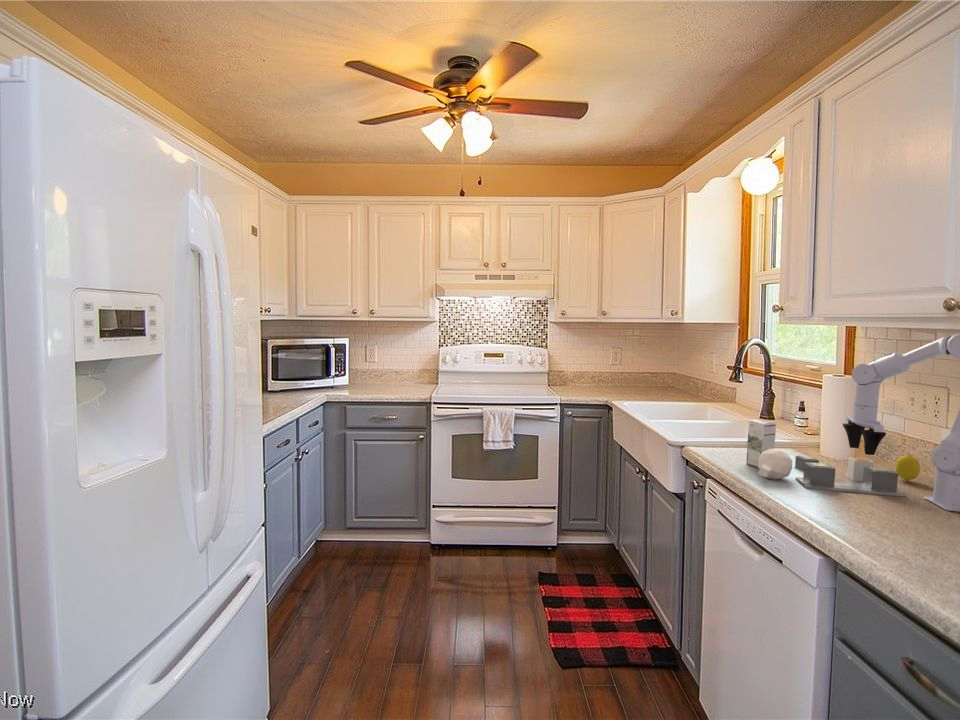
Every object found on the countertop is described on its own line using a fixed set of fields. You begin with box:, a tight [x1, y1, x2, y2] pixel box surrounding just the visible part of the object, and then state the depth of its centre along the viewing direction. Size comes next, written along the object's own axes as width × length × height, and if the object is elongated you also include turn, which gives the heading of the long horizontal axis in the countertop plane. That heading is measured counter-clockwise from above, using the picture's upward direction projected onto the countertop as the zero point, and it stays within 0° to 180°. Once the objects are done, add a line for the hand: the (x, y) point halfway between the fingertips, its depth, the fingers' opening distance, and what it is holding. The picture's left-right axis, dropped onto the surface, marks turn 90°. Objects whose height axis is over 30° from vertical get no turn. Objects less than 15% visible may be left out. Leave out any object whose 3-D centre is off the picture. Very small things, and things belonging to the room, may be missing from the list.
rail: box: [794, 462, 907, 498], centre depth 146 cm, size 8×24×6 cm, turn 77°
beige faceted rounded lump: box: [757, 448, 793, 480], centre depth 152 cm, size 9×9×12 cm
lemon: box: [895, 454, 921, 482], centre depth 153 cm, size 6×6×8 cm
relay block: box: [794, 455, 820, 473], centre depth 163 cm, size 5×4×4 cm
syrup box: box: [746, 418, 777, 468], centre depth 166 cm, size 6×6×14 cm
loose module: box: [846, 456, 875, 482], centre depth 154 cm, size 4×5×6 cm
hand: (861, 451), depth 154 cm, fingers open, 7 cm apart
